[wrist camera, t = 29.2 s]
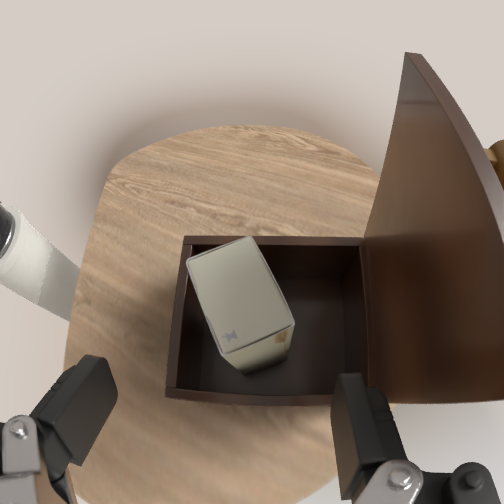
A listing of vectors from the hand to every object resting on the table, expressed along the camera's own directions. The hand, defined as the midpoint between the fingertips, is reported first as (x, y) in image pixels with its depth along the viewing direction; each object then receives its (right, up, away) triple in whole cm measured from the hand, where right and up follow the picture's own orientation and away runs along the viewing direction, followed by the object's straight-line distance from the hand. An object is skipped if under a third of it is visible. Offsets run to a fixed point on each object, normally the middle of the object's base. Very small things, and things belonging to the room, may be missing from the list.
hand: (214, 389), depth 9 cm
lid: (+8, +4, +4) cm, 10 cm away
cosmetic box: (+1, -3, +18) cm, 18 cm away
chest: (+3, -3, +19) cm, 19 cm away
